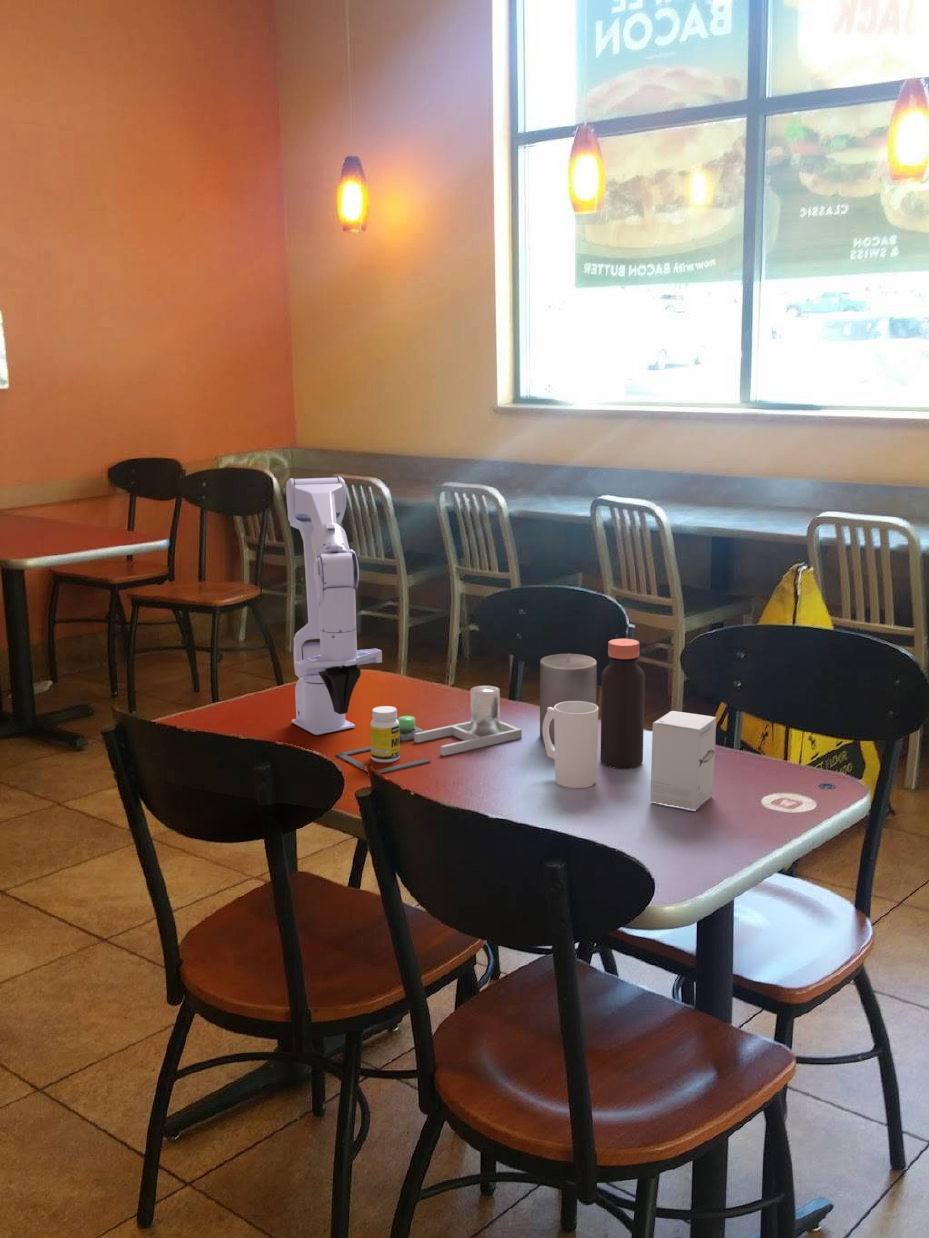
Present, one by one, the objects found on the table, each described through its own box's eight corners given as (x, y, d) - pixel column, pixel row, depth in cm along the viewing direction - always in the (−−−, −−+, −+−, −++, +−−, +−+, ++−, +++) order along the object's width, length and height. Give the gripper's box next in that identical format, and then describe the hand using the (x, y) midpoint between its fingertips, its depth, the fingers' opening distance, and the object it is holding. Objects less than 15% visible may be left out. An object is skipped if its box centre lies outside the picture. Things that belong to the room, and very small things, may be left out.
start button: (394, 733, 214) (394, 717, 213) (409, 730, 216) (409, 714, 215) (403, 737, 211) (403, 722, 211) (418, 734, 213) (418, 719, 213)
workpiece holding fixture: (414, 741, 210) (414, 733, 210) (490, 724, 219) (490, 716, 219) (443, 755, 203) (443, 747, 203) (521, 737, 212) (521, 729, 212)
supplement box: (696, 813, 178) (699, 729, 175) (648, 803, 181) (650, 721, 179) (714, 797, 184) (718, 716, 181) (668, 788, 188) (670, 708, 185)
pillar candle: (546, 726, 218) (545, 644, 214) (600, 730, 215) (601, 647, 212) (534, 744, 209) (533, 659, 205) (591, 748, 206) (591, 662, 203)
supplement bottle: (395, 764, 199) (394, 714, 198) (367, 762, 200) (366, 712, 199) (403, 754, 204) (402, 705, 202) (375, 752, 205) (374, 704, 203)
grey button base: (389, 734, 214) (389, 728, 214) (410, 730, 217) (410, 723, 216) (402, 741, 211) (402, 734, 210) (424, 736, 213) (424, 730, 213)
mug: (606, 781, 191) (607, 707, 188) (578, 792, 186) (579, 716, 183) (557, 766, 198) (557, 694, 195) (528, 776, 193) (529, 703, 190)
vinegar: (651, 761, 199) (654, 641, 195) (626, 772, 195) (628, 649, 190) (616, 752, 204) (619, 635, 200) (591, 762, 199) (593, 642, 195)
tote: (335, 755, 204) (335, 753, 204) (391, 743, 210) (391, 741, 210) (372, 775, 194) (372, 774, 194) (430, 762, 200) (430, 760, 200)
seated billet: (465, 733, 214) (464, 688, 212) (488, 728, 216) (488, 684, 215) (481, 740, 210) (481, 695, 208) (505, 735, 212) (505, 690, 211)
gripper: (308, 640, 186) (311, 726, 189) (391, 627, 194) (393, 710, 197) (287, 631, 191) (290, 715, 194) (368, 619, 199) (370, 700, 202)
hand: (340, 712), depth 196 cm, fingers closed
